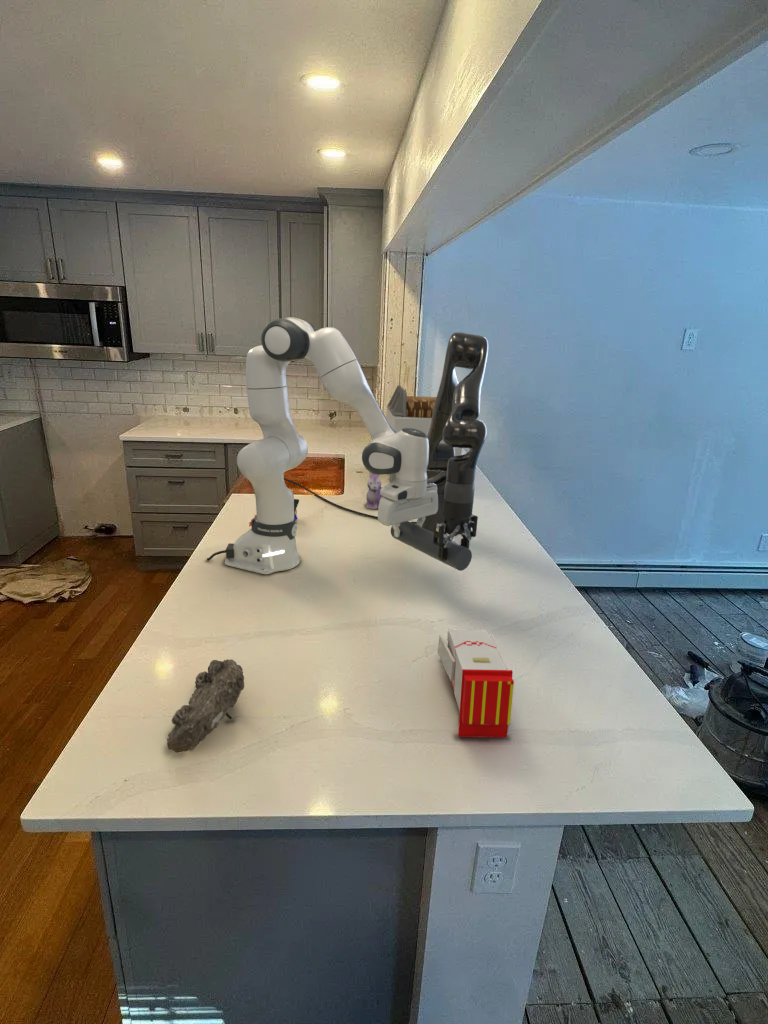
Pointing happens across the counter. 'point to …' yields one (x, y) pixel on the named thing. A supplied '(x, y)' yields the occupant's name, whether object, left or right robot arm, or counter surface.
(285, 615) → the counter surface
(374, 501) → the figurine
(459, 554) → the rod
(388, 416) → the white crate
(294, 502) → the figurine character
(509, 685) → the toy
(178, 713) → the fossil
